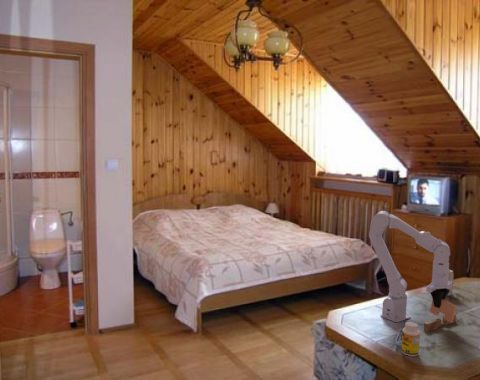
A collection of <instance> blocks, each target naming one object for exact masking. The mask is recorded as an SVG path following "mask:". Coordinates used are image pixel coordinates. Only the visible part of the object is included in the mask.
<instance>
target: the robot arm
mask: <svg viewBox="0 0 480 380" xmlns="http://www.w3.org/2000/svg"><path fill="white" fill-rule="evenodd" d="M369 226H370V227H369V230H368V237H369V240H370V242H371V245H372V247H373V249H374V251H375V253H376V256H377V259H378V260H379V262H380V264H381V267H382V269H383V271H384V274H385V276H386V279H387V284H388V291H389V292H388V296H387V297H386V298H385V299H383V301H382V308H381V309H382V313H381V314H380V317H382V318H384V319H386V320H390V321H392V322H395V323H398V322H399V323H400V322H402V321H404V320H408V319H411V316H410V315H407V304H408V295H407V294H406V293H407V287H408V283H407V281H406V280H405V279H404V278H403V277H402V275H401V273H400V272H399V270H398V269H397V266H396V264H395V262H394V260H393V258H392V255H391V254H390V251H389V249H388V247H387V244H386V243H385V240H384V238H383V233H384V231H385V229H387V227H388V229H398V230H399V231H401V232H403V233H404V234H407V235H408V236H411V237H412V238H413V239H414V240H415V243H416V244H417V245H419V246H420V247H422V248H423V249H425V250H427V251H428V252H429V253H433V256H434V257H433V261H432V276H431V277H432V278H431V283H429V285H427V286H426V292H428V293H430V296H431V298H432V300H433V303H434V307H437V308H440V306H441V300H442V299H443V300H446V298H447V297H448V296H447V295H448V293H449V292H450V290H449V288H450V287H452V282H451V281H448V273H449V270H450V262H449V261H450V256H451V247H450V246H449V245H448V243H447V242H446V241H444V240H443V241H442V239H440V238H439V239H438V238H436V237H435V236H433V235H432V234H431V232H430V231H425V230H422V231H419V230H417V229H416V228H415V227H413V226H411V225H410V224H408V223H407V222H405V221H404V220H402V219H400V217H399V216H396V215H395V214H392V213H389V212H388V211H386V210H380V211H377V213H376V214H375V215H374V216H373V217H372V220H371V221H370V225H369Z"/></svg>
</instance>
